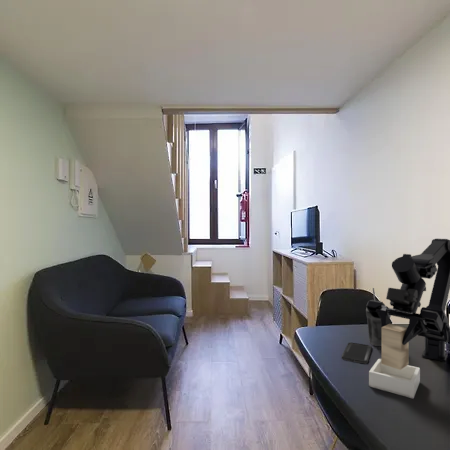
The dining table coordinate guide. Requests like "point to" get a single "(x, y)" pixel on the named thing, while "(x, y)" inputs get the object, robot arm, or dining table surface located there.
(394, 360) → the wood block
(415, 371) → the box
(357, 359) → the phone
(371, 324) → the beverage cup
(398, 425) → the dining table surface
